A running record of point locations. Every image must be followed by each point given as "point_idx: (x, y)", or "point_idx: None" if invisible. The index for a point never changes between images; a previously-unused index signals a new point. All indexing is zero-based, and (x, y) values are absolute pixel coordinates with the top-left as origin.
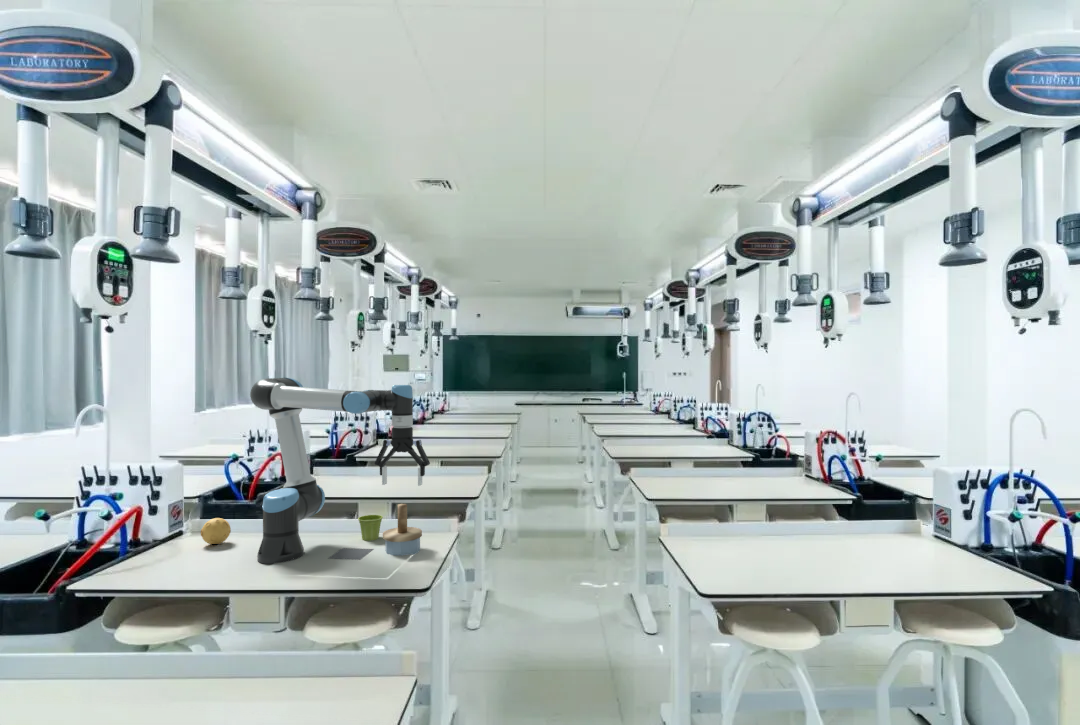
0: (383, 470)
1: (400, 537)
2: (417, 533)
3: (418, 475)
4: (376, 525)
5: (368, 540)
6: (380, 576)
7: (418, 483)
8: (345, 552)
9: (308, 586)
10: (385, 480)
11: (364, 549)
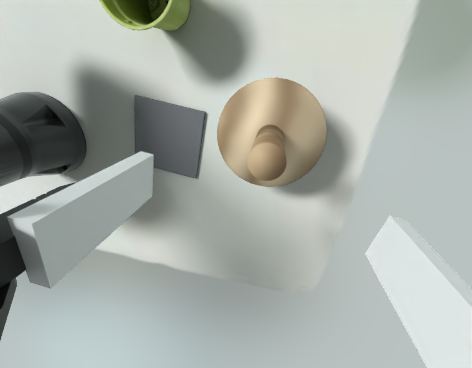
0: (75, 258)
1: (268, 185)
2: (312, 158)
3: (404, 318)
4: (171, 12)
5: (169, 30)
6: (247, 249)
7: (374, 265)
8: (152, 130)
9: (162, 260)
10: (139, 187)
11: (184, 113)
